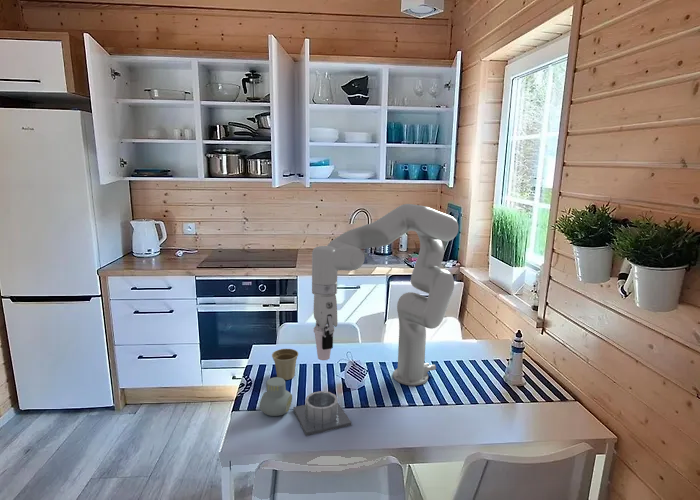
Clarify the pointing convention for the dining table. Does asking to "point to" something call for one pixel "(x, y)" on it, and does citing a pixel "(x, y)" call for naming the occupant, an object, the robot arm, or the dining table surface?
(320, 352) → the smoothie
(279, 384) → the air freshener
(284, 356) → the flower pot
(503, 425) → the dining table surface
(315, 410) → the duct collar
